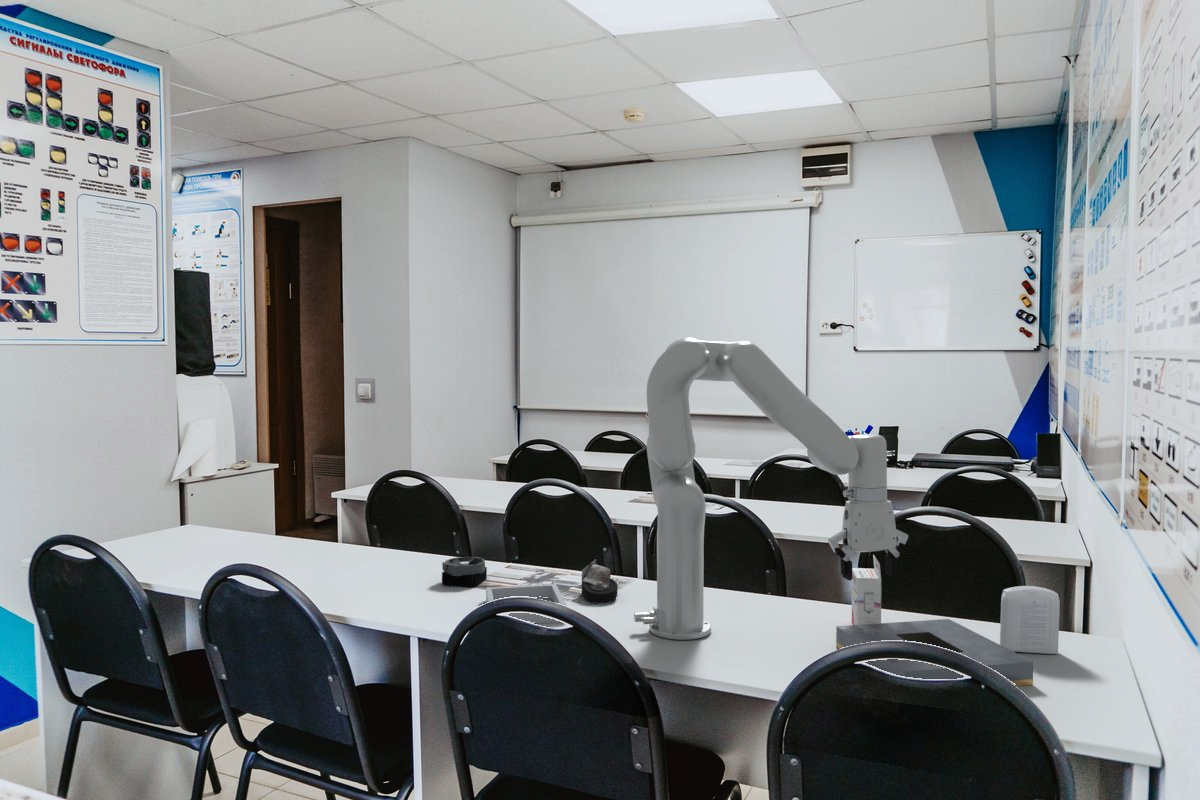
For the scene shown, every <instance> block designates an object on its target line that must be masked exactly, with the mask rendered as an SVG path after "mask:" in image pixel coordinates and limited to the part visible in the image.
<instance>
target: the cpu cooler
mask: <svg viewBox="0 0 1200 800" xmlns="http://www.w3.org/2000/svg"><path fill="white" fill-rule="evenodd" d="M441 564H442V572H441V586H444V587H454V588H455V587H456V588H457V587H459V588H460V587H461V588H473V587H475V588H476V587H479V586H480V585H481V584H482V583H483V582H485V581H486V580H487V579H488V578H487V577H488V576H487V575H488V574H487V573H488V571H487V569H488V568H487V567H486V560H485V558H482V557H479V556H460V557H459V556H458V557H457V556H456V557H453V558H450V559H446V560H445V561H443V562H442V563H441Z"/></svg>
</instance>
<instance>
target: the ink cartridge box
mask: <svg viewBox="0 0 1200 800" xmlns="http://www.w3.org/2000/svg"><path fill="white" fill-rule="evenodd" d="M872 557H873V558H872V559H873V560H872V561H873V567H874V568H864V567H863V568H862V567H852V580H851V622H852V625H864V624H879V623H882V576H881V573H882V572H881V564H880V562H879V560H878V559H877V558H876V556H875V555H874V554H872Z"/></svg>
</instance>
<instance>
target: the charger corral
mask: <svg viewBox="0 0 1200 800" xmlns="http://www.w3.org/2000/svg"><path fill="white" fill-rule="evenodd" d="M485 596H486V597H485V601H486V603H487V602H490V601H493V600H495V599H499V598H504V597H510V596H529V597H537V598H543V597H548V598H547V599H551V600H552V599H553V600H552V602H553V601H554V602H556V603H560V604H562V605H565V606H567V607H568V605H567V603H566V601H565V599H564V597H563V595H562V593H561V591H560V589H559V587H558V584H557V583H549V584H548V583H547V584H546V583H545V584H530V585H529V584H528V585H509V586H494V587H493V586H492V587H490V586H489V587H485ZM539 596H541V597H539ZM545 600H546V598H545ZM554 602H553V603H554ZM508 615H509V616H512V617H516V618H518V619H522V620H525V621H530V622H535V623H538V624H551V623H553V624H554V623H559V622H558V621H556V620H554V619H550V618H546V617H543V616H540V615H536V614H529V613H510V614H508Z"/></svg>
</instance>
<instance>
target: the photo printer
mask: <svg viewBox="0 0 1200 800" xmlns="http://www.w3.org/2000/svg"><path fill="white" fill-rule="evenodd" d="M1000 600H1001V601H1000V627H999V628H1000V629H999V645H1001V646H1003V647H1005V648H1007V649H1009V650H1011V651H1013V652H1015V653H1017V652H1018V653H1031V654H1043V655H1044V654H1048V655H1049V654H1050V655H1057V654H1058V653H1059V633H1060V605H1061V604H1060V597H1059V594H1058V593H1057V592H1056V591H1053V590H1052V589H1049V588H1045V587H1040V586H1034V585H1033V586H1031V585H1019V586H1013V587H1007V588H1004V589H1003V590H1002V592H1001V599H1000Z"/></svg>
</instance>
